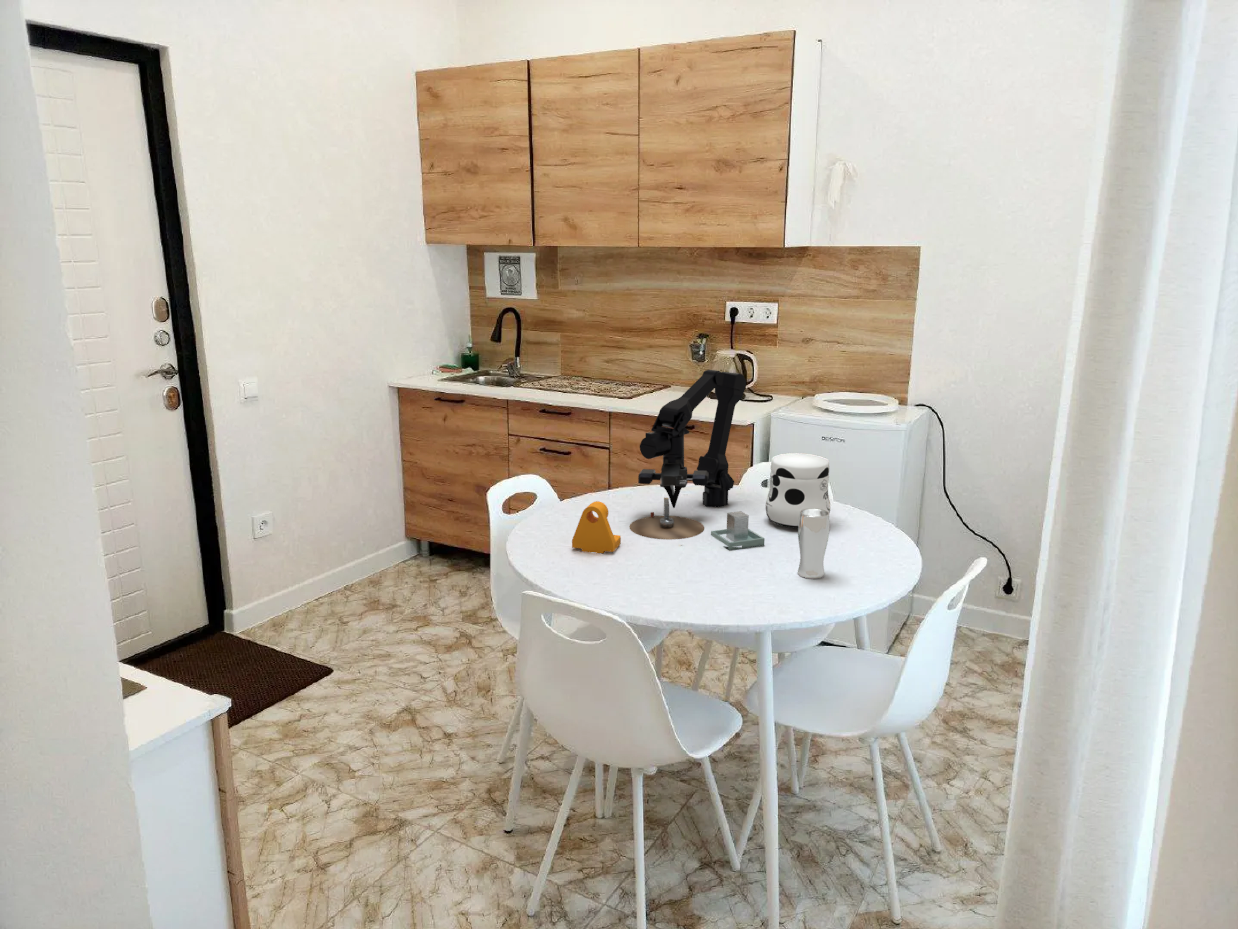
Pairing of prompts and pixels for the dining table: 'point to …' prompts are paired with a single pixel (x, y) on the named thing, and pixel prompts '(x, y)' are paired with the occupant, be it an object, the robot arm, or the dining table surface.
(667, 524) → the crank
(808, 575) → the beer glass
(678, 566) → the dining table surface
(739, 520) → the block
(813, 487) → the milk container
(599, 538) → the bracket
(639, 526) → the base
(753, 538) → the tray
